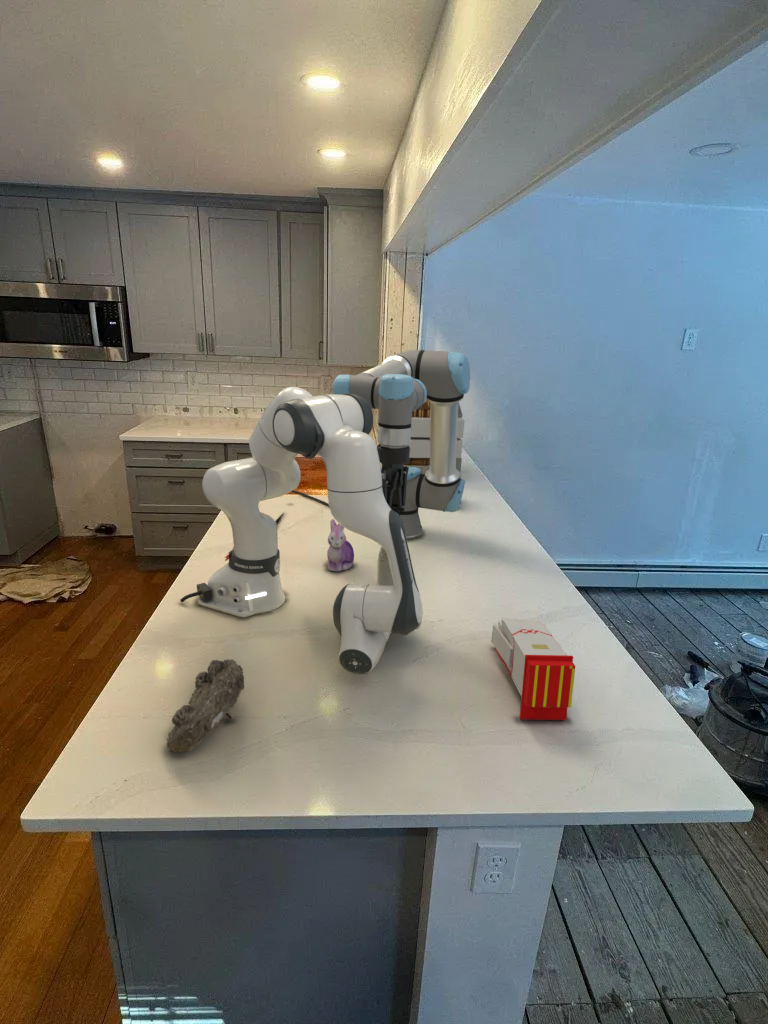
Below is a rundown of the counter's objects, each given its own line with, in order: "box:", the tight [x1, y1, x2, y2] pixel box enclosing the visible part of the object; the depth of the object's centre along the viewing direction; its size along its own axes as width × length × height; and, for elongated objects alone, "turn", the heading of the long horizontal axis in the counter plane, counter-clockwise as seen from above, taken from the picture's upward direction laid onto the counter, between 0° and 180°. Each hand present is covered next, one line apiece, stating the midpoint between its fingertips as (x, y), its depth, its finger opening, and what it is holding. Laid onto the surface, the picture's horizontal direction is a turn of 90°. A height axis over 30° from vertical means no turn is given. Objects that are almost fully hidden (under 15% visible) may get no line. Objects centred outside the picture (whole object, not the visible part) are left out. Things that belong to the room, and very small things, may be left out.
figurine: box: [326, 518, 355, 572], centre depth 171 cm, size 9×10×15 cm
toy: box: [490, 617, 576, 721], centre depth 122 cm, size 12×13×30 cm
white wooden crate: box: [404, 399, 465, 475], centre depth 268 cm, size 34×33×41 cm
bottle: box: [376, 545, 394, 586], centre depth 140 cm, size 5×5×24 cm
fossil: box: [166, 658, 245, 754], centre depth 106 cm, size 22×10×15 cm
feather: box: [274, 503, 291, 525], centre depth 211 cm, size 2×28×2 cm
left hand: (386, 596), depth 143 cm, fingers closed on bottle, 5 cm apart
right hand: (388, 539), depth 137 cm, fingers closed on cap, 4 cm apart
